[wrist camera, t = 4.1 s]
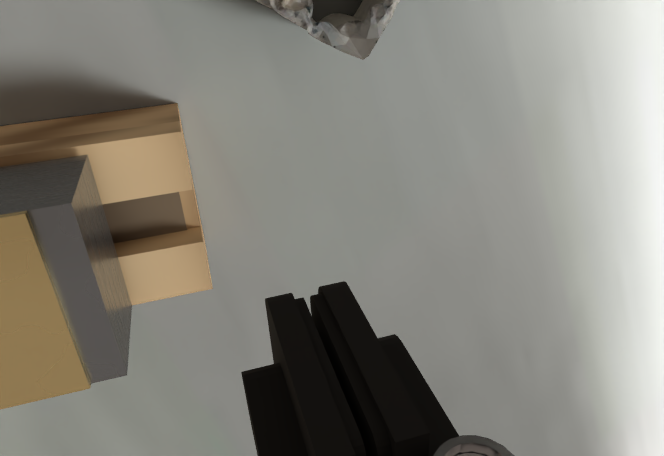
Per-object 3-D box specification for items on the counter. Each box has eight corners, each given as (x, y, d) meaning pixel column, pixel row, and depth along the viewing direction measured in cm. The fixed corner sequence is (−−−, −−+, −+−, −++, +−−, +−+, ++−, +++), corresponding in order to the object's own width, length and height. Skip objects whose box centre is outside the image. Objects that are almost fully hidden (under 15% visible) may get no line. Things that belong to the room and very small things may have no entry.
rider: (91, 142, 17) (70, 206, 13) (133, 286, 20) (126, 379, 16) (-63, 163, 16) (-141, 241, 12) (2, 312, 19) (-43, 419, 15)
